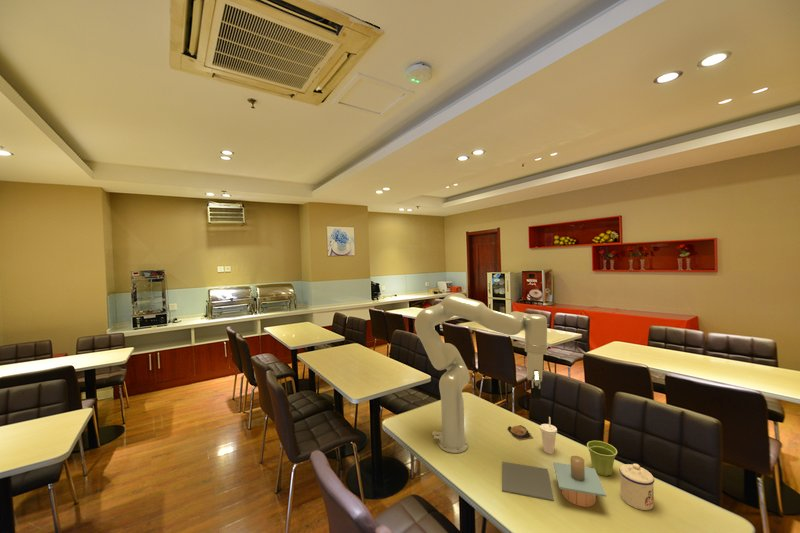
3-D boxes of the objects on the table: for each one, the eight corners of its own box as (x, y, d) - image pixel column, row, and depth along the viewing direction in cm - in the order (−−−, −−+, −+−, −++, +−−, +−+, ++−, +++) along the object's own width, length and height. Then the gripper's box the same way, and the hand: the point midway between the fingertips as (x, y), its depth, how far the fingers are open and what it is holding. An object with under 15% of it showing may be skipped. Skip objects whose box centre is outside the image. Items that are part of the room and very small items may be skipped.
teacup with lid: (652, 516, 97) (652, 478, 97) (617, 501, 103) (616, 465, 103) (657, 494, 106) (656, 459, 106) (623, 482, 112) (623, 449, 112)
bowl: (564, 503, 103) (564, 486, 103) (559, 482, 112) (559, 467, 112) (598, 509, 100) (598, 492, 100) (590, 488, 109) (590, 472, 109)
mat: (502, 491, 109) (502, 490, 109) (502, 462, 124) (502, 461, 124) (553, 501, 104) (553, 499, 104) (547, 470, 119) (547, 468, 119)
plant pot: (618, 483, 112) (617, 458, 111) (586, 474, 117) (586, 450, 116) (616, 467, 120) (616, 445, 119) (587, 460, 125) (587, 438, 124)
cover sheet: (559, 488, 102) (558, 468, 102) (553, 463, 114) (553, 445, 114) (606, 496, 98) (605, 475, 98) (594, 470, 110) (594, 451, 110)
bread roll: (535, 439, 140) (535, 431, 140) (517, 442, 139) (517, 433, 139) (521, 427, 151) (521, 419, 151) (505, 429, 149) (504, 421, 149)
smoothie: (559, 456, 127) (558, 421, 127) (542, 455, 128) (541, 420, 128) (555, 447, 133) (554, 414, 133) (538, 445, 135) (538, 412, 135)
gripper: (523, 341, 129) (523, 383, 129) (525, 353, 112) (524, 401, 113) (544, 342, 126) (543, 385, 127) (549, 355, 110) (548, 404, 110)
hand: (534, 393), depth 120 cm, fingers open, 9 cm apart
